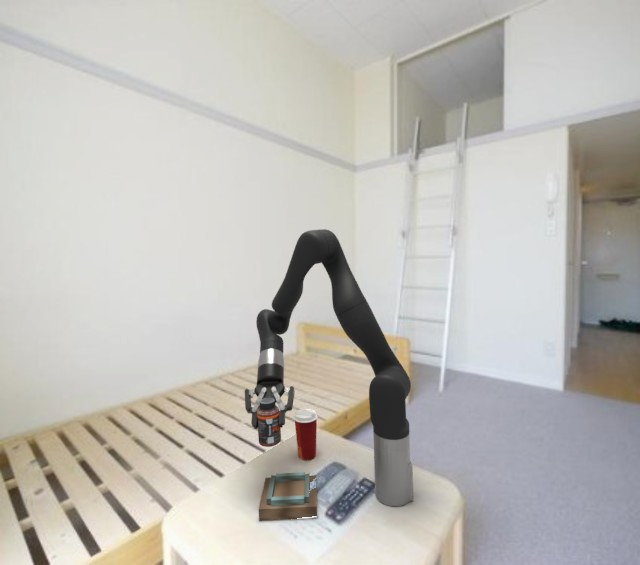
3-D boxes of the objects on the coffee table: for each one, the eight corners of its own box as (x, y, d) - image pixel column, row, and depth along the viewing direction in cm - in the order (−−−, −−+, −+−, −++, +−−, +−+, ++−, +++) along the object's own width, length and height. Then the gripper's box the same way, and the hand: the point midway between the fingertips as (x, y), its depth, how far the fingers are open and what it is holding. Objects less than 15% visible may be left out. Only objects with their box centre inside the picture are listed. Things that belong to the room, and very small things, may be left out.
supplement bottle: (277, 448, 87) (274, 405, 87) (255, 447, 89) (252, 404, 88) (284, 436, 93) (281, 396, 93) (263, 435, 94) (260, 395, 94)
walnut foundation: (316, 485, 95) (316, 470, 95) (317, 518, 83) (316, 500, 83) (266, 488, 95) (265, 472, 94) (259, 521, 83) (258, 503, 82)
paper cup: (323, 452, 111) (322, 410, 110) (310, 465, 104) (308, 420, 103) (303, 446, 115) (302, 405, 114) (290, 458, 109) (288, 415, 108)
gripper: (243, 363, 97) (237, 424, 86) (294, 360, 97) (294, 420, 86) (248, 375, 103) (243, 434, 92) (296, 372, 103) (297, 430, 92)
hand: (268, 427), depth 89 cm, fingers closed on supplement bottle, 6 cm apart
